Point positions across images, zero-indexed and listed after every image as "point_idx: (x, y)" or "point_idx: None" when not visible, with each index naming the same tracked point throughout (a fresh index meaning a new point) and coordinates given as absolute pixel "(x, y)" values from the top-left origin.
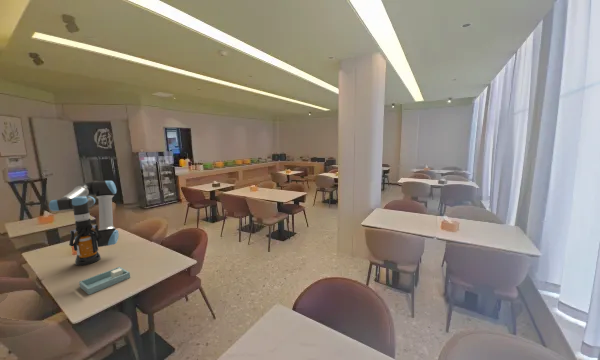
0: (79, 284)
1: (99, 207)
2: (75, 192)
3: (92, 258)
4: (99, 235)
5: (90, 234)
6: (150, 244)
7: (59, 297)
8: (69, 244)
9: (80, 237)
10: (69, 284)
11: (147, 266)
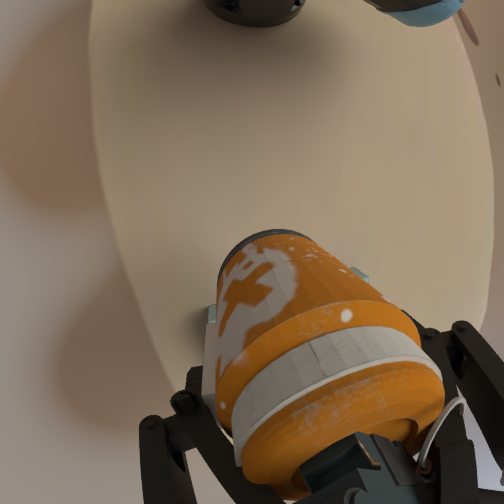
0: (208, 316)
1: None
2: None
3: (275, 11)
4: (464, 382)
5: (419, 443)
6: (463, 55)
7: (150, 328)
8: (144, 437)
9: (283, 499)
10: (168, 224)
11: (425, 286)
